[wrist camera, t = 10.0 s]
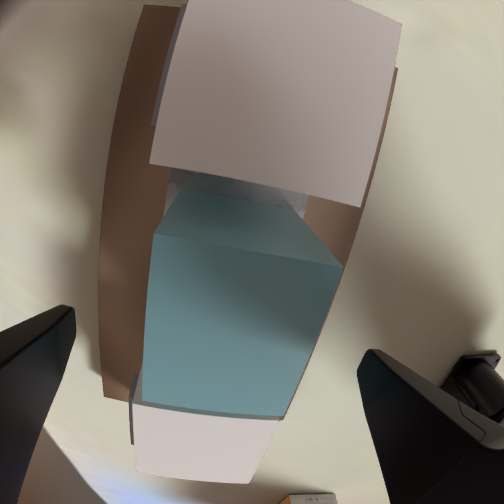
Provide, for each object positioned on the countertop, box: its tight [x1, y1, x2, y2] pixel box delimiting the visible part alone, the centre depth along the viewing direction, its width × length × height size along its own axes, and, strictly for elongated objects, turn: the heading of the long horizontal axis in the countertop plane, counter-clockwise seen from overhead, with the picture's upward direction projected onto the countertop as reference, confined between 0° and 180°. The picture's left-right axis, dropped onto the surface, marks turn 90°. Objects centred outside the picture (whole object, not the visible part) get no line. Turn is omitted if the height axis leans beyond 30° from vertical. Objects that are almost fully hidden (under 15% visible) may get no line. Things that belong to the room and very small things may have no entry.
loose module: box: [142, 189, 343, 416], centre depth 12 cm, size 5×6×6 cm
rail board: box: [99, 5, 398, 420], centre depth 16 cm, size 12×22×2 cm, turn 167°
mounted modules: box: [129, 0, 402, 484], centre depth 12 cm, size 6×21×5 cm, turn 167°
